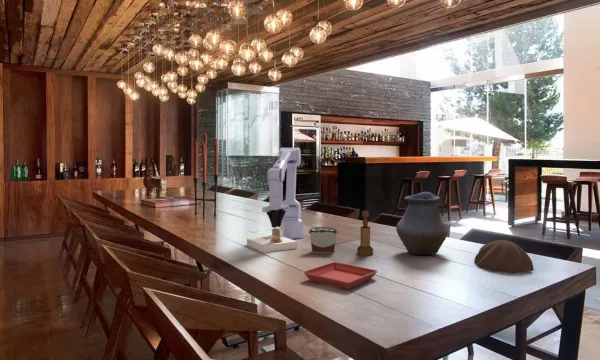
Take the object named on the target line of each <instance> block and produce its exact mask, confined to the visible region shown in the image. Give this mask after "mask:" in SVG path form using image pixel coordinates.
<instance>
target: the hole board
mask: <svg viewBox="0 0 600 360" xmlns="http://www.w3.org/2000/svg"><path fill="white" fill-rule="evenodd" d="M271 239H272V234H271V235H265V236H254V237H247V238H246V245H247V246H249V247H251V248H253V249H255V250H257V251H260V252H261V253H271V252H280V251H287V250H295V249H298V240H294V239H289V238H286V237H283V236H282V235H280V239H282V242H280V243H272V242H270V240H271Z"/></svg>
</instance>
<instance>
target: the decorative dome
mask: <svg viewBox="0 0 600 360" xmlns="http://www.w3.org/2000/svg"><path fill="white" fill-rule="evenodd" d="M473 261H474V262H473V264H475V265H476V267H478V268H481V269H485V270H487V271H490V272H500V273H506V274H516V273H517V274H518V273H519V274H521V273H522V274H527V273H528V272H529V271H534V264H533V261H532V259H531V257H530V255H529V254H528V253H527V252H526V251H525V250H524V249H523V248H522V247H520V245H518V244H516V243H514V242H512V241H510V240H506V239H497V240H496V239H495V240H493V241H490V242H487V243H485V244H483V245H482V246H481V247H480V249H479V250H478V252H477V254H476V255H475V257H474V260H473Z"/></svg>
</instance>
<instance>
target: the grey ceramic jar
mask: <svg viewBox="0 0 600 360" xmlns="http://www.w3.org/2000/svg"><path fill="white" fill-rule="evenodd" d="M404 200H405V201H407V207H406V208H405V211H404V214H403V216H402V218H401V219H400V220H399V221H398V222H397V224H396V227H395V228H396V233H397V235H398V237H399V239H400V241H401V242H402V245H403V246H404V247H405V249H406V251H407V253H409V254H410V255H419V256H429V255H435V254H437V253H438V252H439V250H440V249H441V247H442V245H443V244H444V242H445V241H446V238H447V236H448V230H447V228H446V226H445V224H444V223H443V221H442V218H441V215H440V212H439V206H438V203H439V201H440V200H441V197H440V196H437V195H435V194H433V193H432V192H430V191H421V192H418V193H416V194H412V195H407V196H405V197H404Z"/></svg>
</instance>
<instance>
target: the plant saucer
mask: <svg viewBox="0 0 600 360" xmlns="http://www.w3.org/2000/svg"><path fill="white" fill-rule="evenodd" d="M377 273H378V270H377V269H372V268H368V267H362V266H357V265H352V264H347V263H341V262H336V261H333V262H329V263H327V264H324V265H321V266H317V267H314V268H311V269H308V270H306V271H305V270H304V271H303V274H304V276H305V277H307V278H308V280H310V281H311V282H314V283H317V284H318V283H319V284H321V285H322V284H323V285H326V286H331V287H335V288H337V289H338V288H339V289H344V290H349V289H351V288H353V287H356V286H359V285H361V284H362V283H365V282H367V281H370V280H372V278H373V277H374V276H375V275H377Z"/></svg>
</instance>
